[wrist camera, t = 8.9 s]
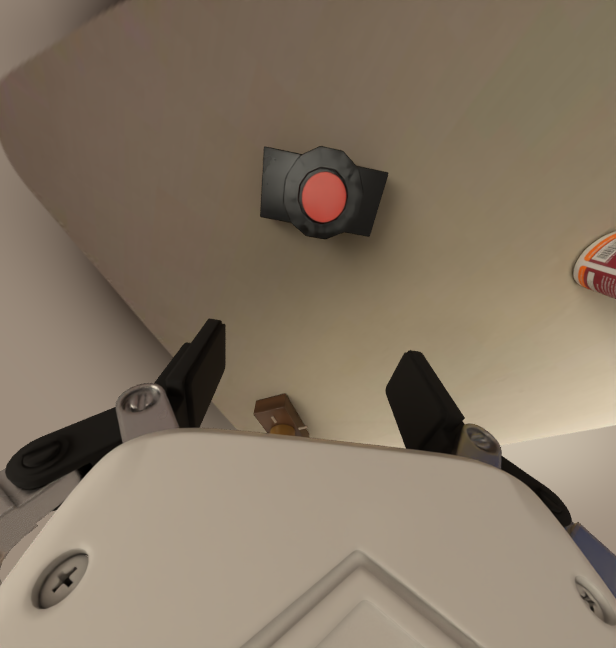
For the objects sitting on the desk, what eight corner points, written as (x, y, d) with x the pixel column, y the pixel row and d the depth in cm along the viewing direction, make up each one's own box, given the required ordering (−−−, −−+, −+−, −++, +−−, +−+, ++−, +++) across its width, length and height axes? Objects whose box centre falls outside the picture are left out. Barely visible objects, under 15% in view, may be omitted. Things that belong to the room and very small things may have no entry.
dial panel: (247, 402, 36) (243, 417, 34) (295, 390, 35) (294, 405, 33) (274, 440, 42) (273, 455, 40) (317, 431, 41) (318, 446, 38)
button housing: (263, 220, 22) (256, 227, 19) (268, 141, 19) (260, 132, 16) (363, 238, 23) (372, 248, 20) (383, 165, 20) (399, 162, 17)
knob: (289, 421, 35) (286, 457, 30) (299, 436, 37) (298, 471, 32) (265, 427, 36) (260, 463, 31) (276, 441, 38) (272, 476, 33)
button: (299, 215, 19) (298, 218, 17) (305, 168, 17) (306, 167, 16) (337, 222, 19) (340, 225, 18) (347, 177, 17) (351, 176, 16)
